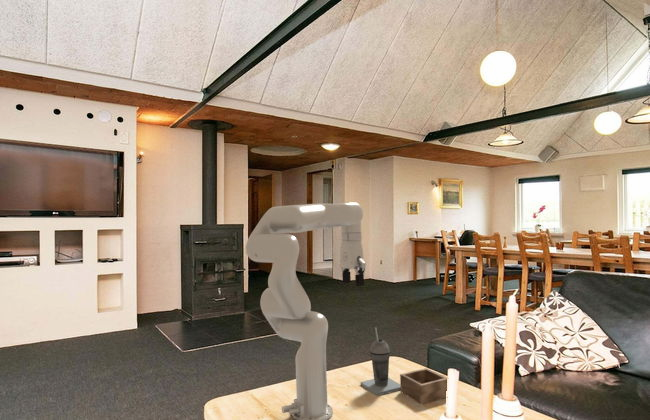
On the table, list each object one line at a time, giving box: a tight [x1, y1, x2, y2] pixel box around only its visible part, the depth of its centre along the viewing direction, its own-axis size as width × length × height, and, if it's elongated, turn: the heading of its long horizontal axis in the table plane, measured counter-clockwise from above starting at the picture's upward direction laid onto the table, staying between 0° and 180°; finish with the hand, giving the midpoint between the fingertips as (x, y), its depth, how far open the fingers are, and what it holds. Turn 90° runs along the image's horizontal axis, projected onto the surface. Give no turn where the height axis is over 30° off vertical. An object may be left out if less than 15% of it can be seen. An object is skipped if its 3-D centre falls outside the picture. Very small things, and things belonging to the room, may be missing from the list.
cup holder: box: [399, 367, 448, 405], centre depth 138 cm, size 11×11×6 cm
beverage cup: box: [369, 327, 391, 387], centre depth 146 cm, size 7×7×20 cm
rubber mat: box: [360, 377, 401, 397], centre depth 146 cm, size 11×11×1 cm
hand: (353, 283), depth 151 cm, fingers open, 9 cm apart
